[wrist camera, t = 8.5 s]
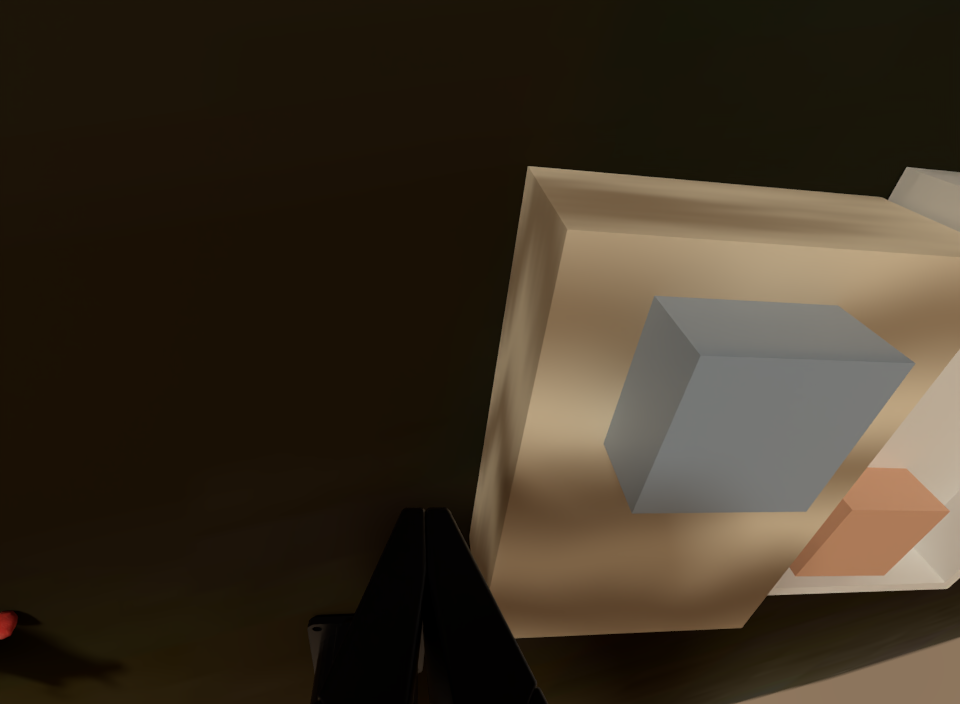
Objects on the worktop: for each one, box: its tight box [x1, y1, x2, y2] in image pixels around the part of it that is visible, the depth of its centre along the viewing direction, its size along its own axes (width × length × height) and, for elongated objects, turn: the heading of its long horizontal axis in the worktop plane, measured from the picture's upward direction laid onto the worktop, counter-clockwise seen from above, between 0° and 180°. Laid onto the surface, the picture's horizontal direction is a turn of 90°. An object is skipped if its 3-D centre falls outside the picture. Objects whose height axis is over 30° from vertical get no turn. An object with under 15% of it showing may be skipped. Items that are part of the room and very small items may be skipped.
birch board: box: [469, 166, 960, 638], centre depth 19 cm, size 18×12×5 cm, turn 174°
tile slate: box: [604, 296, 916, 514], centre depth 13 cm, size 5×5×2 cm
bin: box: [768, 167, 960, 595], centre depth 22 cm, size 20×13×3 cm, turn 174°
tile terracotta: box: [790, 467, 950, 576], centre depth 25 cm, size 5×5×2 cm
